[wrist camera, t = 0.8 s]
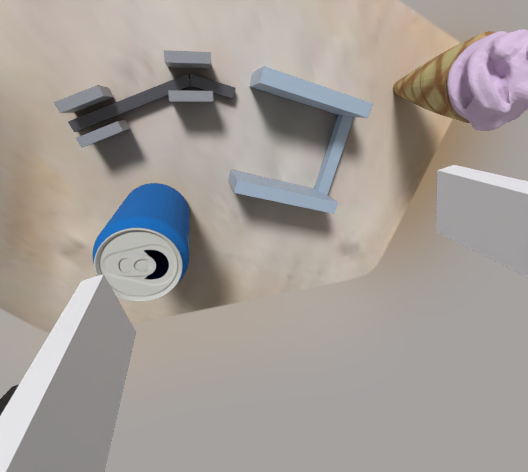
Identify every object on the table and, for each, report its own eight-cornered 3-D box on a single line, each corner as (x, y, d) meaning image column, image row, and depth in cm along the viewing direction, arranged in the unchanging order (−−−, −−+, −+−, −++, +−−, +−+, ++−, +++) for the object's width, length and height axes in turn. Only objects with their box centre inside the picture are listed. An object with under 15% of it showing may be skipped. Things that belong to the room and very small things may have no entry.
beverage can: (189, 241, 33) (187, 305, 23) (126, 240, 32) (91, 308, 21) (190, 183, 31) (189, 224, 20) (122, 179, 29) (81, 220, 19)
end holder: (228, 180, 32) (234, 192, 27) (252, 72, 28) (264, 66, 24) (320, 201, 35) (339, 214, 30) (351, 105, 31) (378, 105, 27)
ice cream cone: (438, 87, 33) (611, 73, 19) (399, 135, 34) (536, 154, 20) (402, 40, 30) (573, -15, 17) (360, 94, 31) (488, 84, 18)
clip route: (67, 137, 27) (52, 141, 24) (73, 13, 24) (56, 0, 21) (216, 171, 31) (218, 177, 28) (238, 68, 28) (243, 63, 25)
